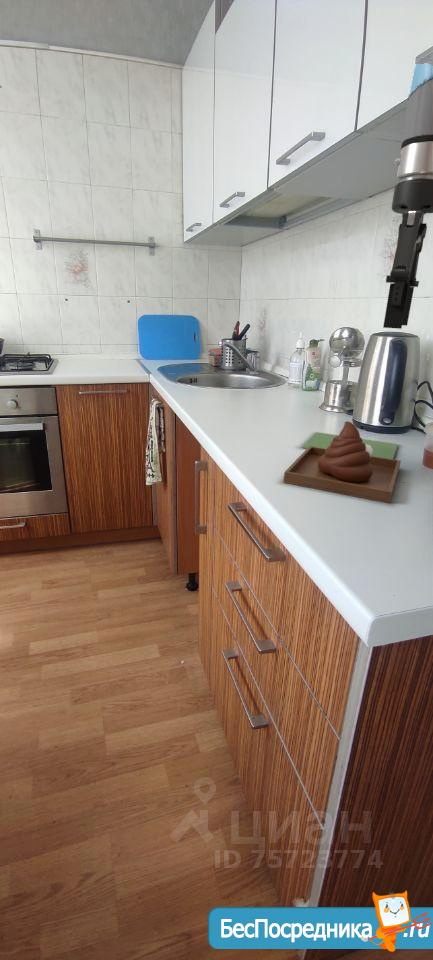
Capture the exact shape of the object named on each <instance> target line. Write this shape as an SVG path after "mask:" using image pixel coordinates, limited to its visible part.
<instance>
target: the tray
mask: <svg viewBox="0 0 433 960" xmlns="http://www.w3.org/2000/svg"><path fill="white" fill-rule="evenodd" d="M325 450H326V448H319V447H313V446H309V447H308V448H307V449H306V448H305V450H304V451H303V452H302V453H301V454H300V456H298V457H297V458H296V459H295V461H294V462H293V463H291V465H289V467H288V468H287V469H285V471H284V472H283V473H284V474H283V483H284V484H289V485H295V486H300V487H304V488H311V489H315V490H321V491H325V492H330V493H336V494H340V495H346V496H351V497H355V498H360V499H365V500H370V501H371V500H372V501H376V502H381V503H386V504H390V503H391V501H392V497H393V494H394V490H395V485H396V483H397V479H398V476H399V471H400V466H401V461H402V460H399V459H394V458H393V459H387V458H381V457H375V456H371V458H370V464H371V466H372V469H373V473H372V476H371V478H370V479H368V480H367V481H363V482H346V481H342V480H340V479H337V478H336V477H334V476H333V475H331V474H325V473H323V472H321V471H320V470H319V468H318V461H319V459H320V457H321V456H322V455H324V454H325Z"/></svg>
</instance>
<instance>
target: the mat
mask: <svg viewBox="0 0 433 960" xmlns="http://www.w3.org/2000/svg"><path fill="white" fill-rule="evenodd" d="M336 436H339V435H338V434H331V433H323V432H315V433H314V434H313V435H312V436H311V437H310V438H309V439H308V440H307V441H306V442H305V443H304V444H303V445H302V446H301V447H302V449H305V450H306V449H307V448H308V447H309V446H313V447H319V448H326V449H327V448H328V447H329V446H330V444H331V442H332V441H333V438H334V437H336ZM362 442H363V443H364V444H365V445H366V444H367V445H370V446H371V447H372V449H373V454H372V456H375V457H381V458H387V459H394V458H395V455H396V452H397V449H398V446H399V444H397V443H392V442H385V441H384V442H383V441H378V440H371V439H364V438H362Z"/></svg>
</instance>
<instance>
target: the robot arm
mask: <svg viewBox="0 0 433 960" xmlns="http://www.w3.org/2000/svg"><path fill="white" fill-rule="evenodd" d="M416 64H417V63H416ZM416 64H415V67H414V70H413V74H414V75H413V74H412V79H413V80H411V84H412V85H410V89H411V90H409V94H408V95H407V104H406V110H405V111H406V112H405V117H404V126H403V132H402V140H401V145H400V153H399V154H400V157H397V158H396V159H395V160H394V165H395V167H397V173H396V180H397V182H398V183H397V184H396V185H395V186H394V190H393V196H392V202H391V210H392V212H394V213H395V214H401V218H402V219H401V223H399V226H398V233H397V234H398V235H397V239H396V240H397V241H396V249H395V254H394V258H393V261H392V262H393V263H392V267H391V270H390V273H389V274H388V275H386V278H385V283H389V289H388V297H387V302H386V307H385V313H384V314H385V315H384V319H383V320H384V321H383V326H382V328H383V329H384V328H385V329H399V330H401V329H403V326H404V327H405V326H408V323H409V317H410V311H411V306H412V302H413V296H414V290H415V288H419V284H420V281H419V280H417V273H418V266H419V261H420V260H419V259H420V253H422V250H423V245H424V239H426V235H427V229H428V224H427V222H426V223H425V222H424V217H425V215H427V214H433V66H432V65H431V64H428V63H424V64H417V65H416Z"/></svg>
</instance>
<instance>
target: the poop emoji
mask: <svg viewBox="0 0 433 960" xmlns="http://www.w3.org/2000/svg"><path fill="white" fill-rule="evenodd" d="M362 439H363V438H362V437H361V434H360V432H359V430H358V428H357V426H356V425H355V424H354V423H352V422H351V421H345V422H344V425H343V428H342V429H341V430H340V432H339V435H338V436H336V437H334V438H333V441H332V442H331V444H330V446H329V447H328V448H327V449H326V450H325V454H324V455H322V456H321V457H320V459H319V461H318V468H319V470H320V471H321V472H323V473H325V474H331V475H333V476H334V477H336V478H337V479H340V480H342V481H346V482H363V481H367V480H368V479H370V478H371V476H372V473H373V469H372V466H371V464H370V458H371V456H372V454H373V449H372V447H371V446H370V445H367V444H366V445H365V444H364V443H363V442H362Z"/></svg>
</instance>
